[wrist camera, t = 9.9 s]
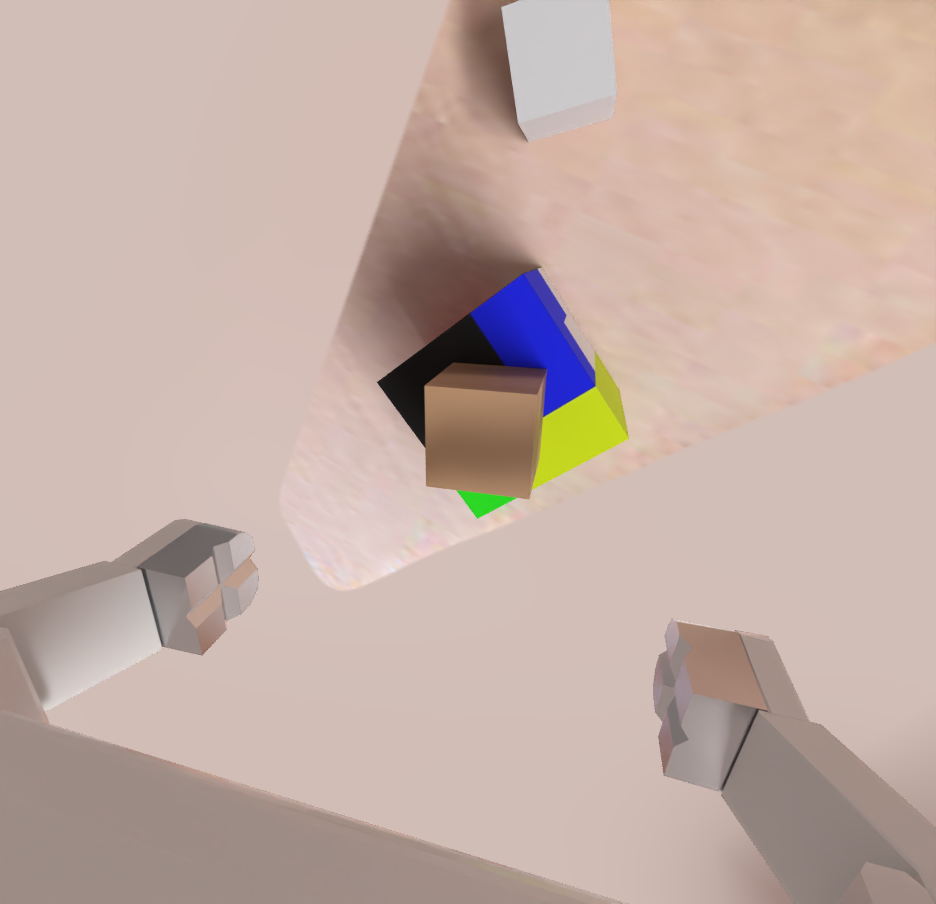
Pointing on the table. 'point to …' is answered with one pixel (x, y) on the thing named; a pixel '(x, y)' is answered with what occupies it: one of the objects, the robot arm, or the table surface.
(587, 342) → the puzzle toy
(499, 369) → the walnut block
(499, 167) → the table surface
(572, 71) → the grey block
